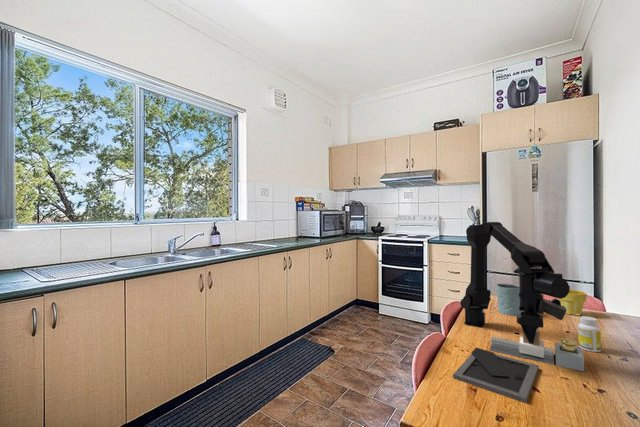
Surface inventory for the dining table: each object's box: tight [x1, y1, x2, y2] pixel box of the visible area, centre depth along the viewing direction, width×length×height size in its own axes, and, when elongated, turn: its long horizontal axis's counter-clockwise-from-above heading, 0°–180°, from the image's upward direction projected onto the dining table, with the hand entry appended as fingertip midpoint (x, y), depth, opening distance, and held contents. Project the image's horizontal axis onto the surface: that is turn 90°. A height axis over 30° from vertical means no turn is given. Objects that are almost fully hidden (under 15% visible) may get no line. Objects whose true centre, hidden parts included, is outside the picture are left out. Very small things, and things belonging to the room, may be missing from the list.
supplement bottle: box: [577, 315, 602, 353], centre depth 95 cm, size 5×5×10 cm
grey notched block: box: [554, 342, 585, 372], centre depth 86 cm, size 6×8×4 cm
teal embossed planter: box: [495, 283, 521, 317], centre depth 133 cm, size 10×10×12 cm
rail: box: [489, 336, 555, 366], centre depth 93 cm, size 16×8×3 cm, turn 53°
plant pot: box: [557, 289, 588, 315], centre depth 131 cm, size 10×10×10 cm
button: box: [559, 337, 577, 353], centre depth 86 cm, size 4×4×4 cm
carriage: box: [518, 327, 545, 358], centre depth 91 cm, size 6×6×7 cm
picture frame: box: [452, 347, 540, 404], centre depth 80 cm, size 16×2×21 cm
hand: (531, 341), depth 91 cm, fingers closed on carriage, 4 cm apart
